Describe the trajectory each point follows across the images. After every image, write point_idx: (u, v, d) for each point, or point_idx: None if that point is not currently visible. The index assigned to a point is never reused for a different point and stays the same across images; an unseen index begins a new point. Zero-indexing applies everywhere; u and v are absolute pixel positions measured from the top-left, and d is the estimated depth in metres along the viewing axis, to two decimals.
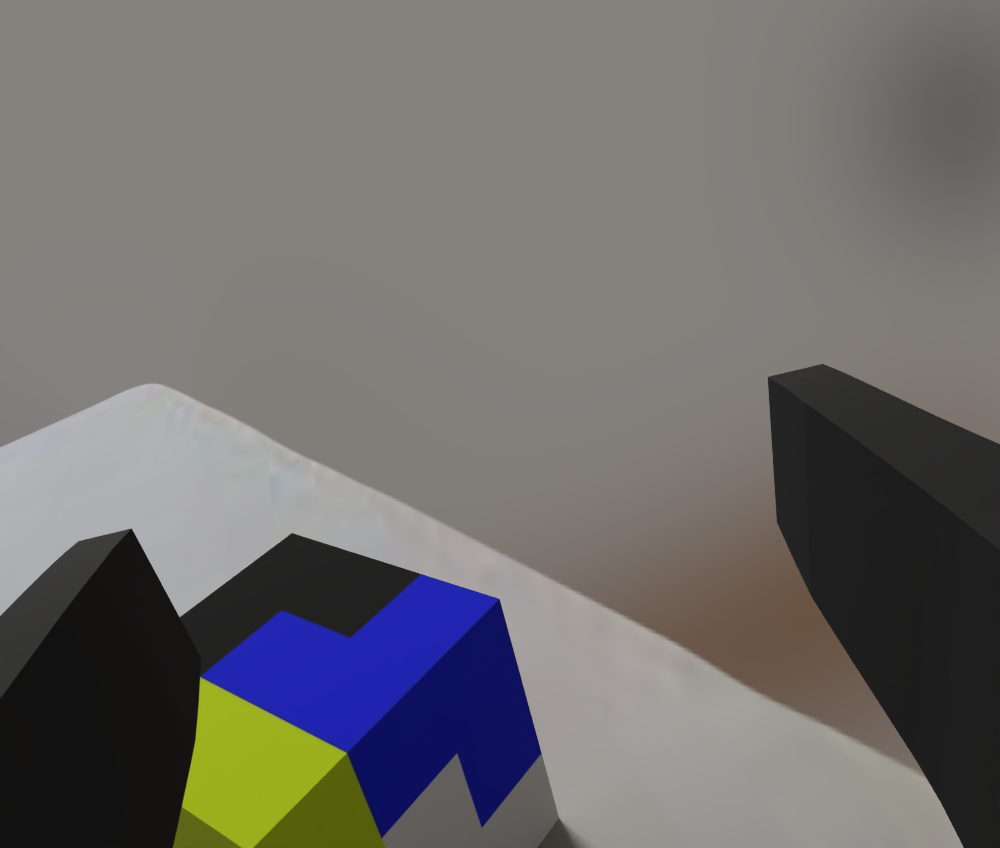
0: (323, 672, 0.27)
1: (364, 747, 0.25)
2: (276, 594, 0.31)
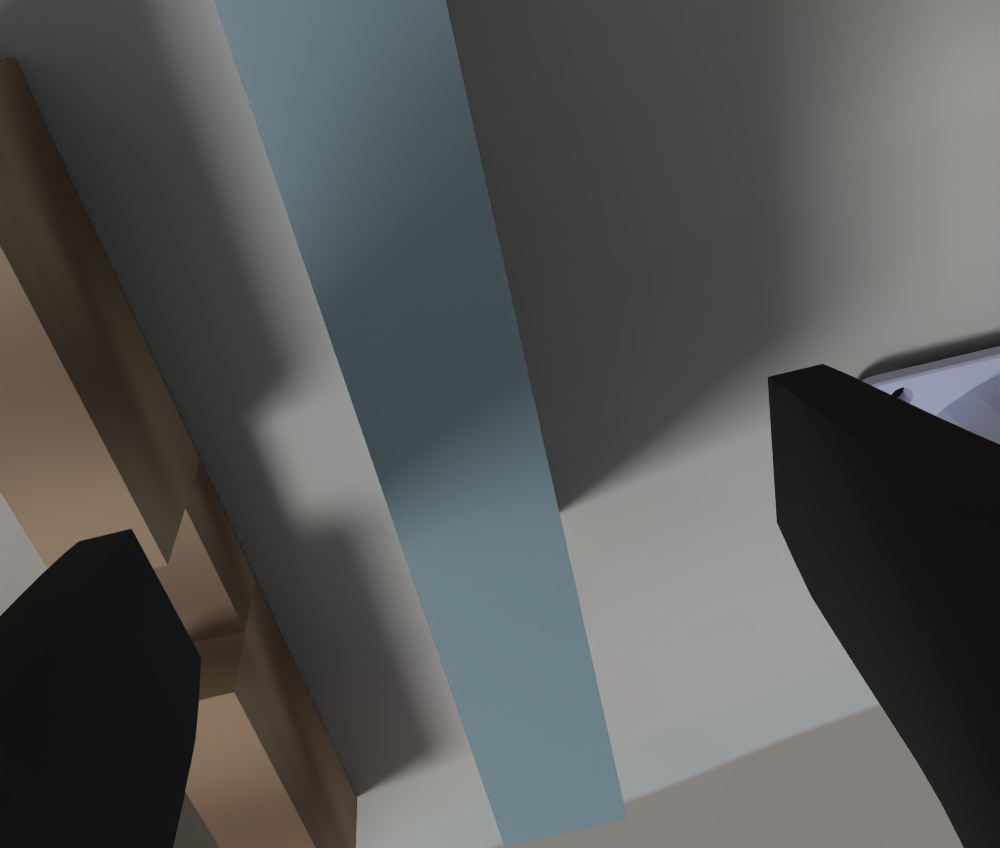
0: None
1: None
2: None
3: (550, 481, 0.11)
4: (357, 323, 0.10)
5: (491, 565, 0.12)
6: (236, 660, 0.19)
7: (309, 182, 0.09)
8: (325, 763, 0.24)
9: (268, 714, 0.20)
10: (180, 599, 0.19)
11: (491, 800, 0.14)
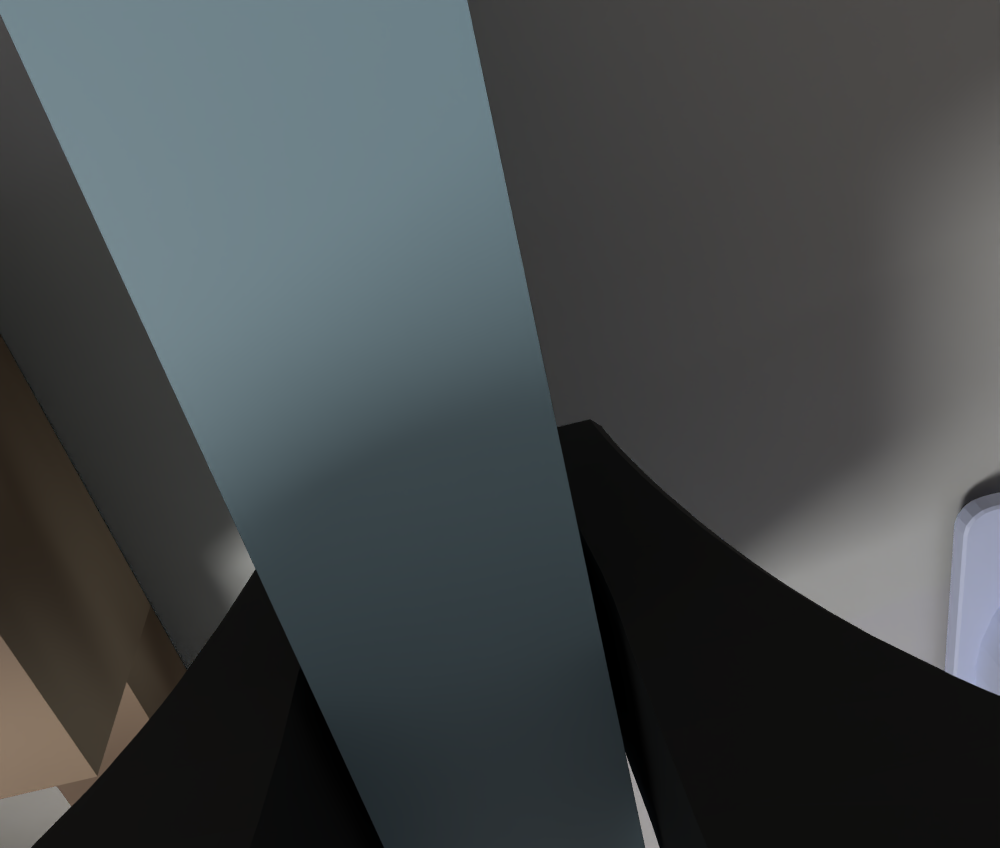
0: None
1: None
2: None
3: (633, 805, 0.07)
4: (333, 618, 0.06)
5: None
6: None
7: (246, 418, 0.05)
8: None
9: None
10: None
11: None
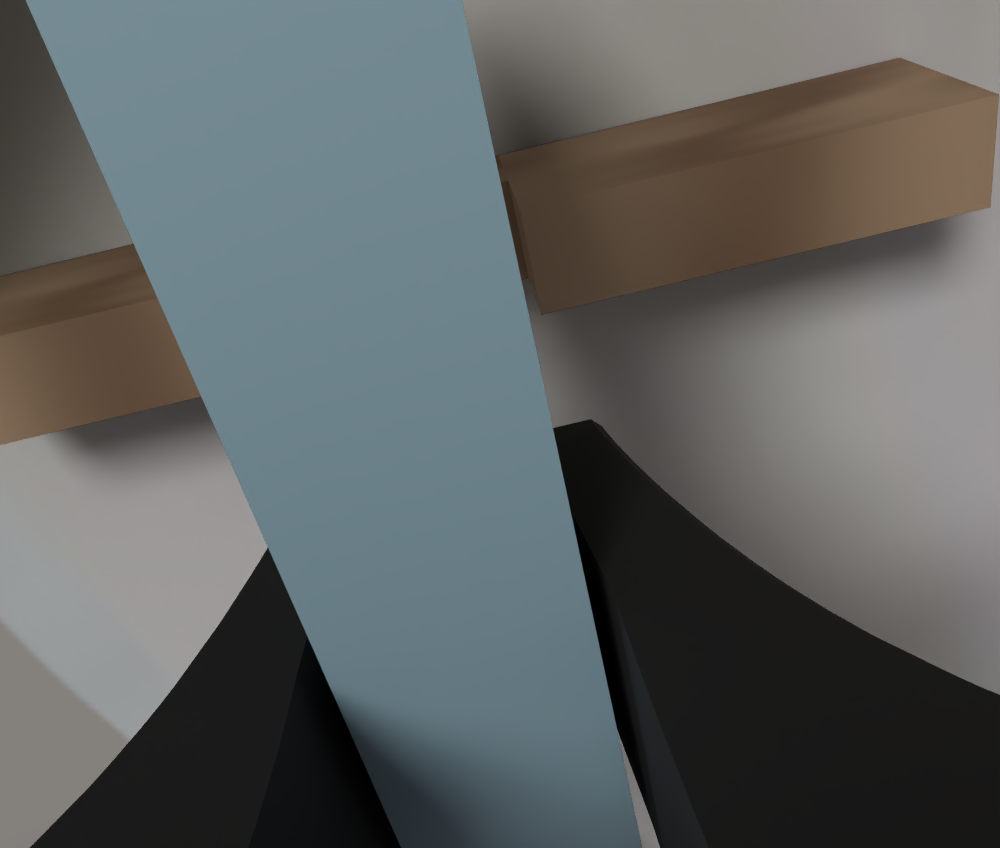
0: None
1: None
2: None
3: (616, 738, 0.07)
4: (318, 540, 0.06)
5: (524, 844, 0.08)
6: None
7: (231, 333, 0.05)
8: None
9: None
10: None
11: None
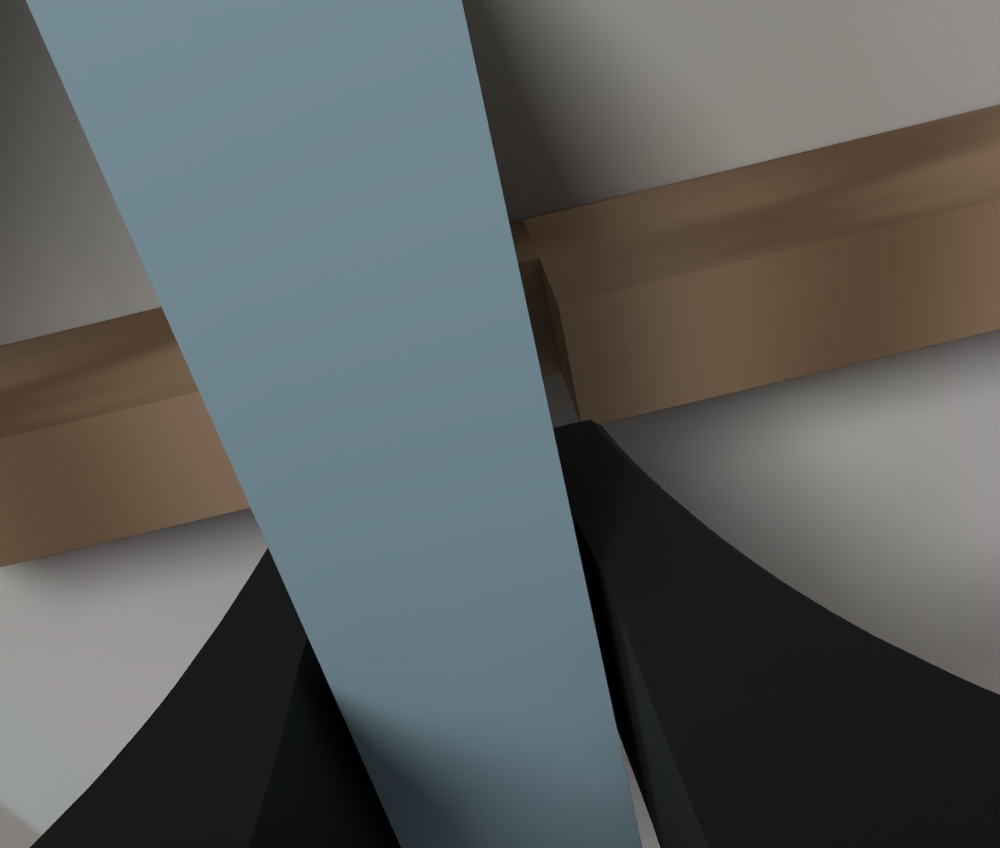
0: None
1: None
2: None
3: (616, 738, 0.07)
4: (318, 540, 0.06)
5: (525, 844, 0.08)
6: None
7: (231, 333, 0.05)
8: None
9: None
10: None
11: None
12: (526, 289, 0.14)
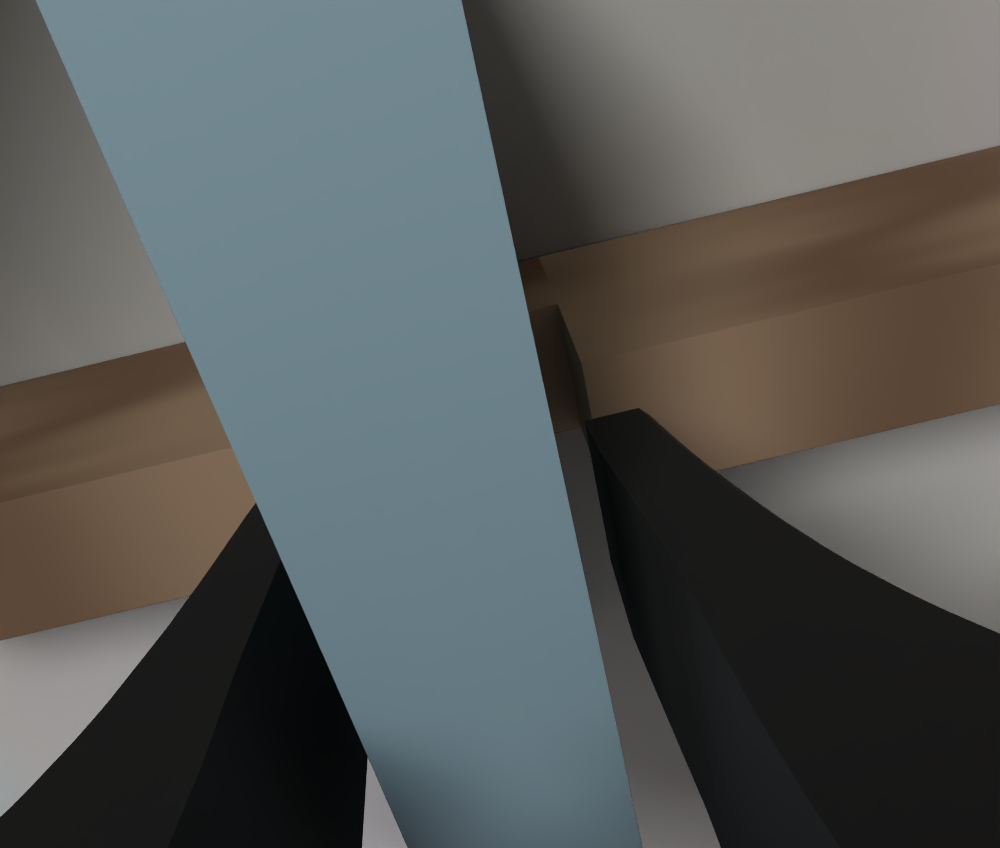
0: None
1: None
2: None
3: (613, 727, 0.08)
4: (320, 530, 0.06)
5: (524, 832, 0.08)
6: None
7: (235, 326, 0.05)
8: None
9: None
10: None
11: None
12: (543, 337, 0.13)
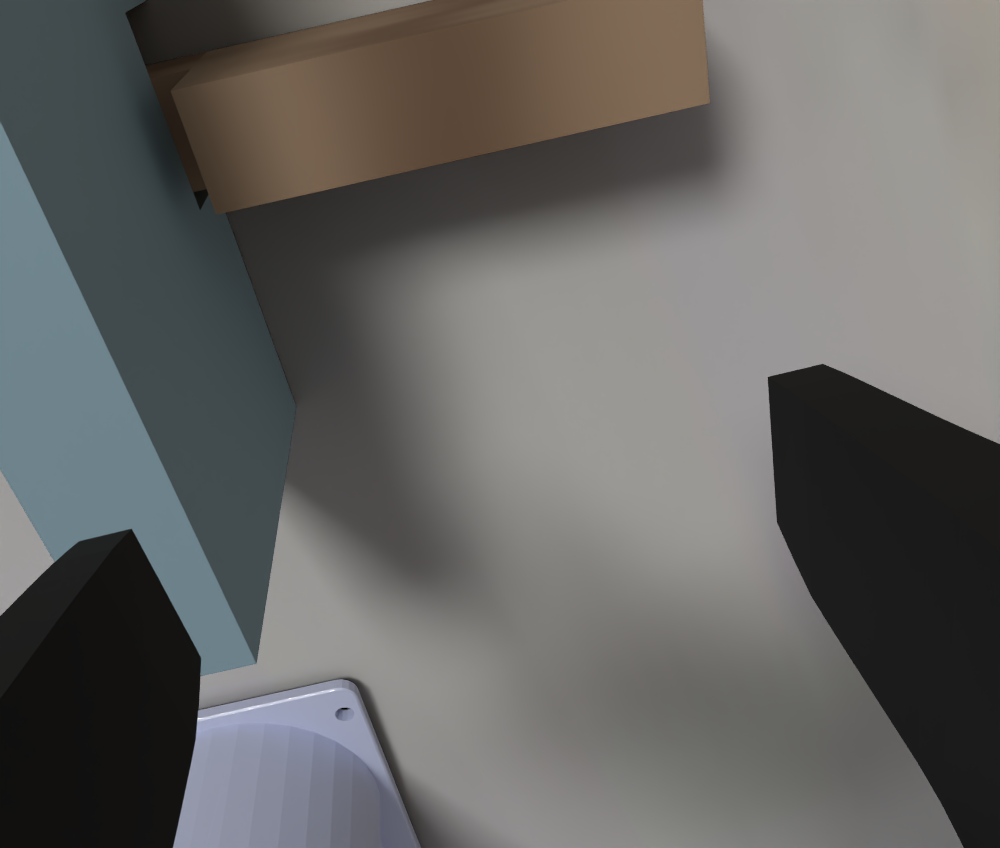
0: None
1: None
2: None
3: (65, 261, 0.11)
4: None
5: (25, 358, 0.11)
6: None
7: None
8: None
9: None
10: None
11: None
12: None
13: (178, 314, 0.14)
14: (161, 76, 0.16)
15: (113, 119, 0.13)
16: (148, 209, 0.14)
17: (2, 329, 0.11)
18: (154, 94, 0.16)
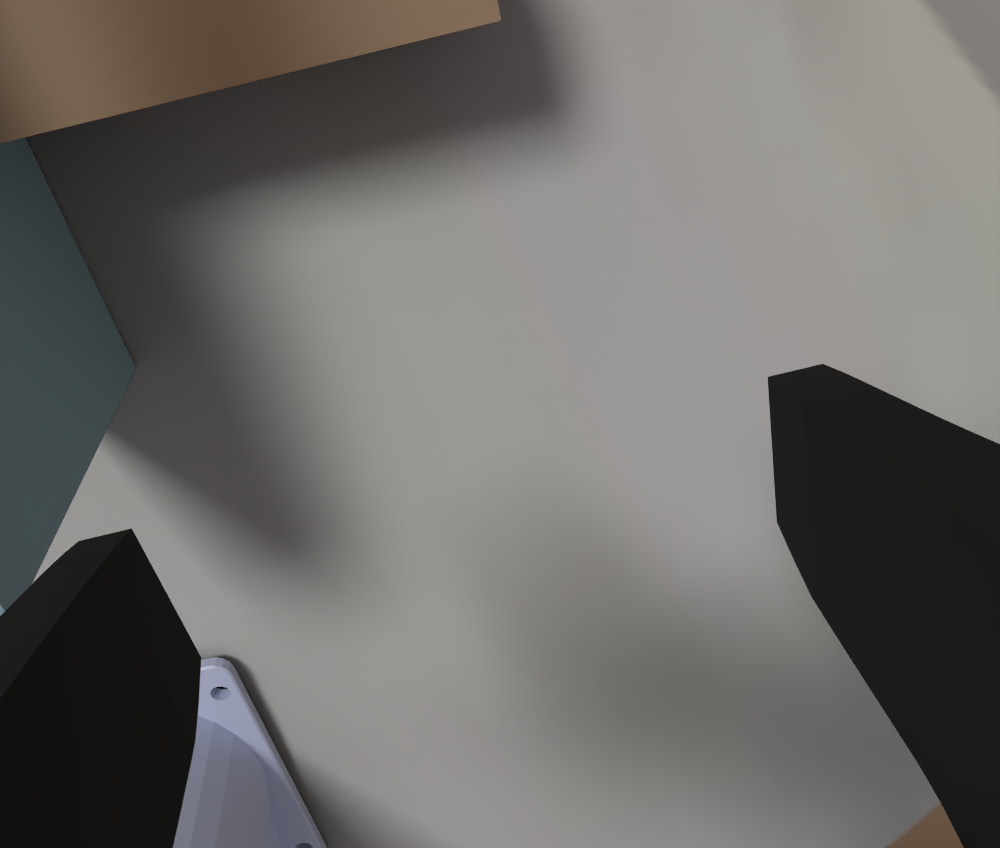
0: None
1: None
2: None
3: None
4: None
5: None
6: None
7: None
8: None
9: None
10: None
11: None
12: None
13: None
14: None
15: None
16: None
17: None
18: None
